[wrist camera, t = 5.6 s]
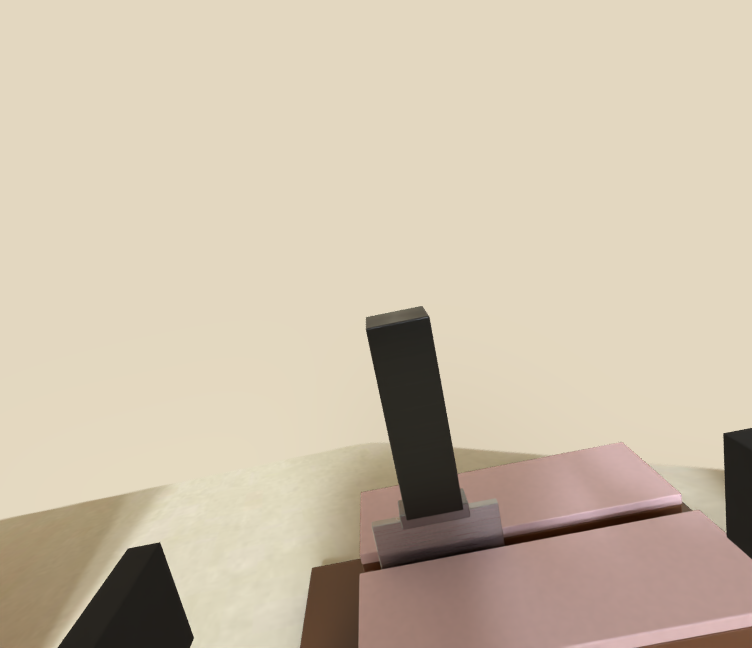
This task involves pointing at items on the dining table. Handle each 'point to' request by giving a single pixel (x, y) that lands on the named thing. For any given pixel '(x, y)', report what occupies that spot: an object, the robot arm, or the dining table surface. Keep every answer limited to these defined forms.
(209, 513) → the dining table surface
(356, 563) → the cake board
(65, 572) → the dining table surface
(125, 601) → the robot arm
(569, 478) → the cake
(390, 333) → the dark upright knife handle
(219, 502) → the dining table surface
